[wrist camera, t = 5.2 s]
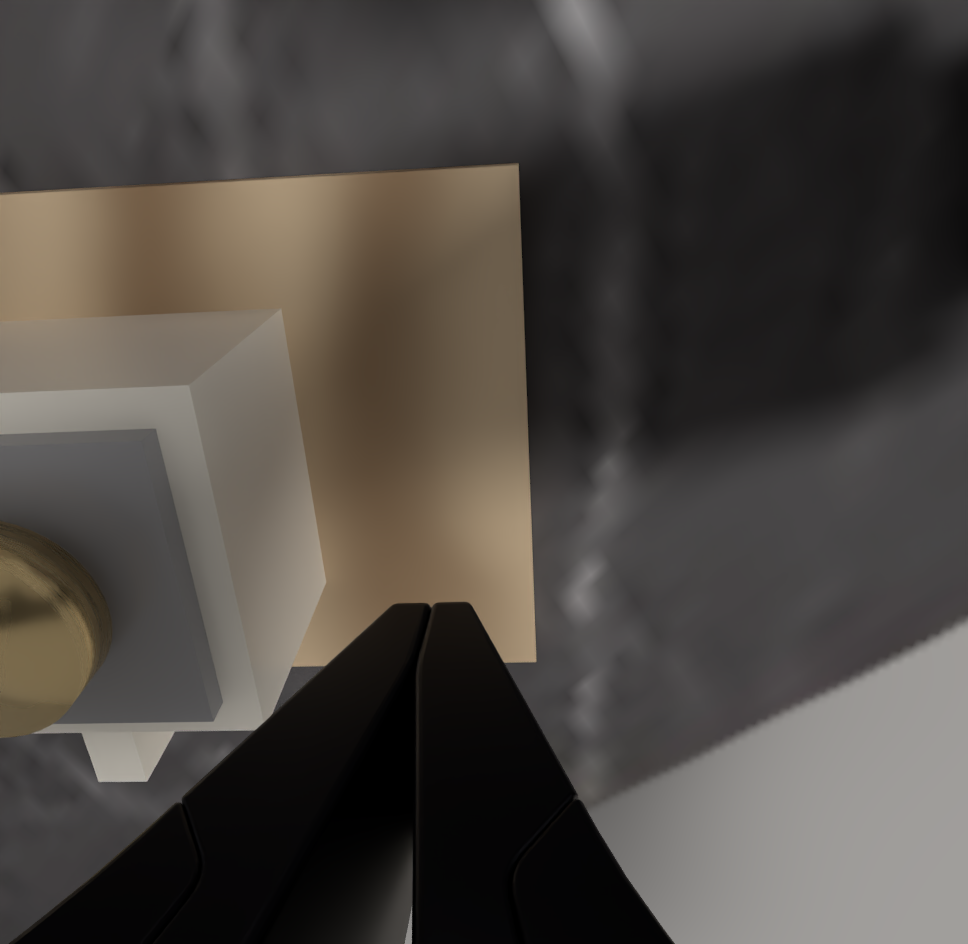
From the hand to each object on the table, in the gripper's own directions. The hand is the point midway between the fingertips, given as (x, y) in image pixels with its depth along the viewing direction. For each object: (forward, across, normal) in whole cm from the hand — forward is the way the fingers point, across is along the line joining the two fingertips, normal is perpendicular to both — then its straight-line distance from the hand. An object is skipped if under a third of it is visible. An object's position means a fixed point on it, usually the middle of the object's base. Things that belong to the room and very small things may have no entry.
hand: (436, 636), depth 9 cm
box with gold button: (+12, +9, +3) cm, 15 cm away
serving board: (+13, +9, +3) cm, 16 cm away
